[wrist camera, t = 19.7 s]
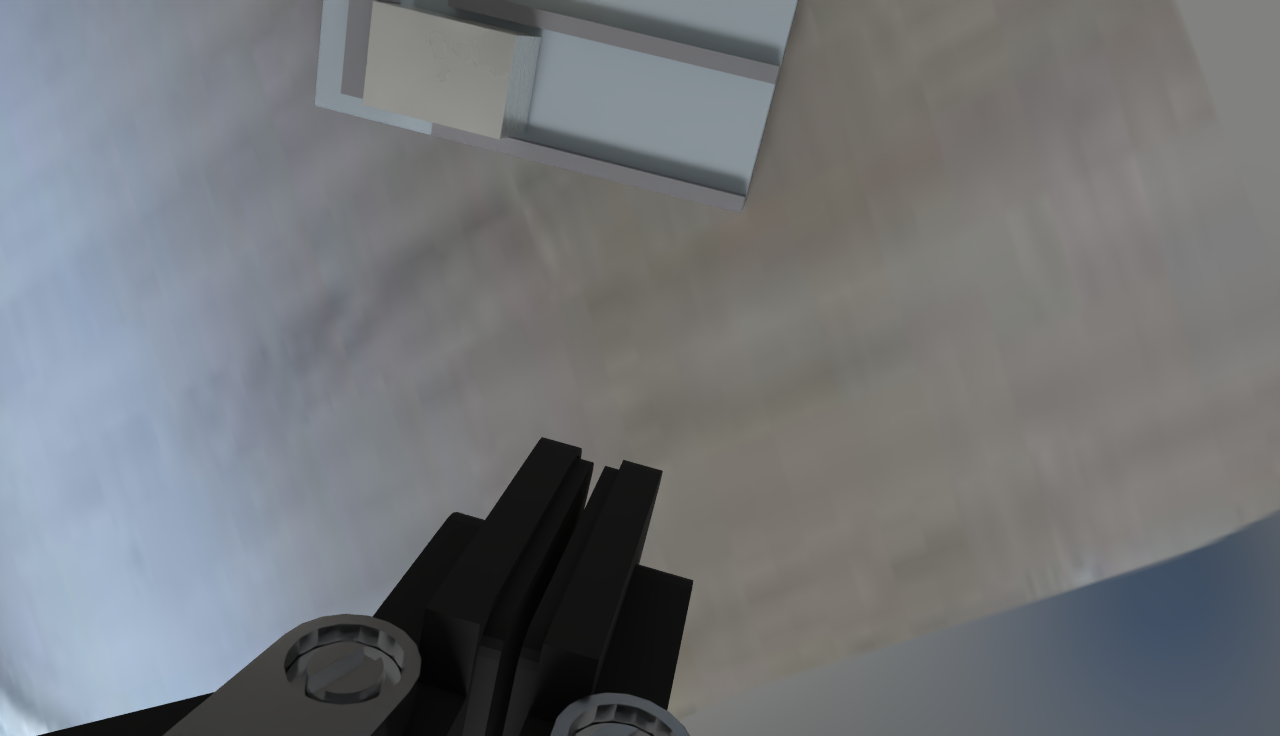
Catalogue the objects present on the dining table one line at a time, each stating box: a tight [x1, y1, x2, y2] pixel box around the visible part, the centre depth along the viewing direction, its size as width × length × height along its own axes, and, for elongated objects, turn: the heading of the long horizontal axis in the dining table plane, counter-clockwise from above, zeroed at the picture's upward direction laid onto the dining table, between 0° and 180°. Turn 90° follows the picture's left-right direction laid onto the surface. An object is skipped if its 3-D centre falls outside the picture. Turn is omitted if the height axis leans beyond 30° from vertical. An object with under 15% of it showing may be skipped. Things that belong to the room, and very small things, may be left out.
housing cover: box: [362, 1, 541, 139], centre depth 31 cm, size 5×3×3 cm
